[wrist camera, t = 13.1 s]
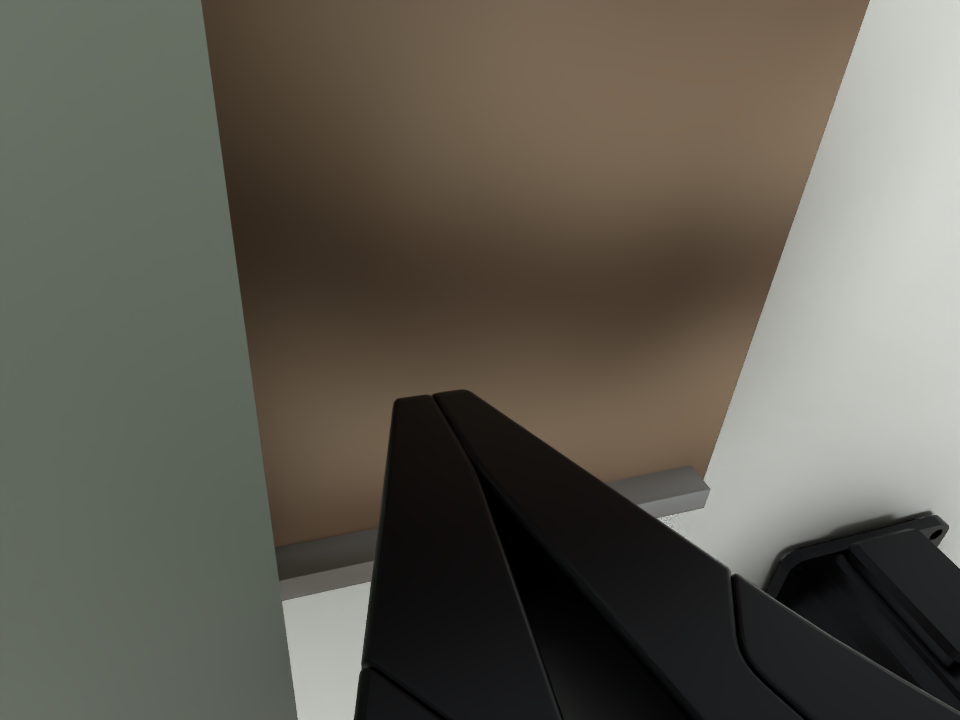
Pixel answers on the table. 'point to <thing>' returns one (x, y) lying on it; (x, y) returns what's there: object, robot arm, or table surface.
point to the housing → (126, 383)
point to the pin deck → (507, 228)
